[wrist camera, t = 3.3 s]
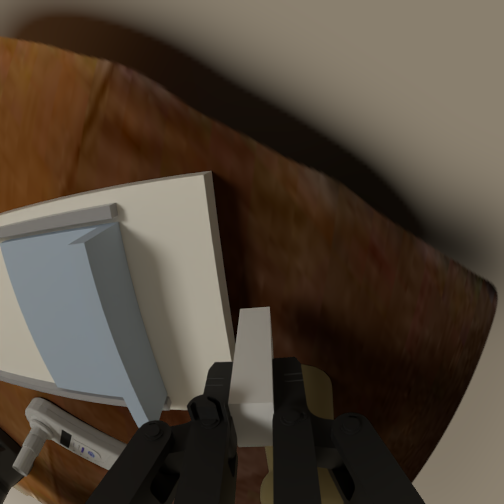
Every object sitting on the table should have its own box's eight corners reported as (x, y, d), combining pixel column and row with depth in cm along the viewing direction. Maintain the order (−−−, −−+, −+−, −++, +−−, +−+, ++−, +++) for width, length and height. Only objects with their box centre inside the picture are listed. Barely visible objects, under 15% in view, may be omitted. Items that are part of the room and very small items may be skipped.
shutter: (61, 382, 20) (41, 410, 17) (5, 240, 16) (-30, 258, 12) (167, 394, 19) (154, 432, 16) (118, 221, 15) (83, 242, 12)
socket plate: (10, 366, 24) (-5, 383, 21) (-41, 226, 18) (-64, 236, 15) (242, 387, 22) (240, 418, 19) (211, 171, 17) (200, 176, 14)
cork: (291, 424, 24) (298, 533, 13) (240, 392, 22) (229, 516, 12) (346, 388, 22) (377, 504, 12) (297, 351, 21) (316, 487, 10)
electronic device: (123, 528, 20) (1, 463, 17) (139, 465, 29) (33, 408, 26) (133, 522, 18) (-5, 447, 15) (151, 451, 27) (34, 387, 25)
